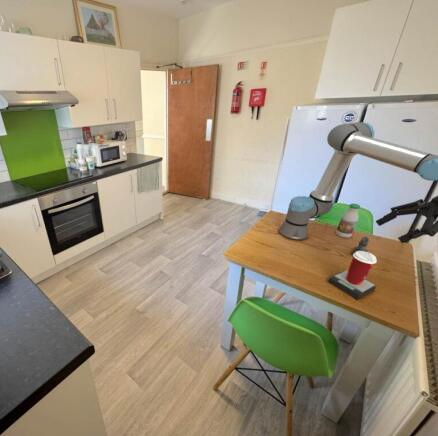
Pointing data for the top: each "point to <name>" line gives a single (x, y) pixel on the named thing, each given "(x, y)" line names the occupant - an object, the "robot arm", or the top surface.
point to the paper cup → (360, 267)
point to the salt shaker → (361, 245)
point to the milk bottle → (348, 221)
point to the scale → (351, 285)
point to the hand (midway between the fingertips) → (387, 231)
